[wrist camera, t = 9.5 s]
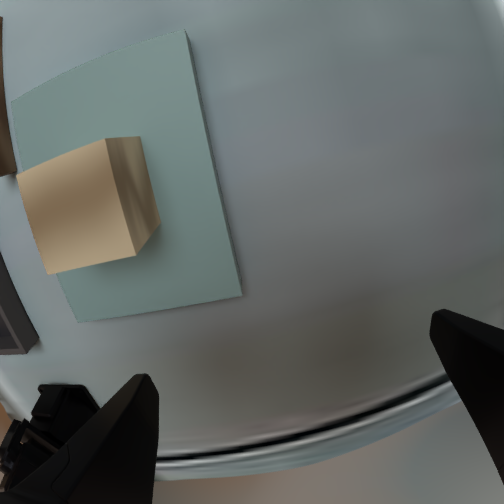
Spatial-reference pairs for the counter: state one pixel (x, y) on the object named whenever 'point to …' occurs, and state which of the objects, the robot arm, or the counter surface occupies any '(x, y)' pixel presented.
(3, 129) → the cubby
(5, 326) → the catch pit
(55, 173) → the beech cube
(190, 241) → the platform
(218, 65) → the counter surface
